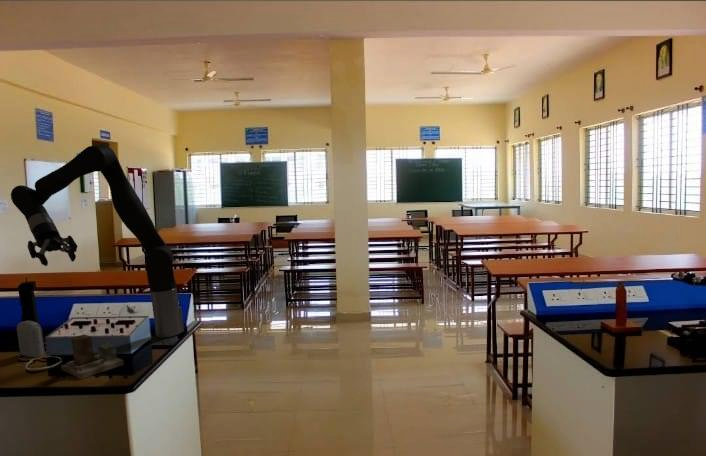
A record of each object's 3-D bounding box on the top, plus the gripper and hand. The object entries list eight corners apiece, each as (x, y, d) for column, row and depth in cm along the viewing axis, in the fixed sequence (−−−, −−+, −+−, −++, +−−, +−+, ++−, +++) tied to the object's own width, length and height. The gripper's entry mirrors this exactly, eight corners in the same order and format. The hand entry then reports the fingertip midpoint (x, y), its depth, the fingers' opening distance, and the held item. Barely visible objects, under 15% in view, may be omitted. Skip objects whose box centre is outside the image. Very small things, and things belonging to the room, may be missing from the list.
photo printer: (47, 354, 180) (42, 320, 179) (34, 358, 176) (29, 323, 175) (31, 351, 185) (26, 318, 184) (18, 355, 181) (13, 321, 180)
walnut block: (88, 361, 163) (84, 334, 162) (95, 364, 160) (91, 336, 159) (75, 365, 160) (71, 338, 159) (81, 368, 157) (77, 340, 156)
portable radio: (26, 337, 205) (17, 276, 203) (43, 334, 208) (34, 274, 205) (23, 342, 198) (13, 279, 196) (41, 339, 201) (31, 277, 198)
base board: (103, 356, 171) (101, 341, 171) (123, 364, 161) (121, 347, 161) (61, 369, 161) (59, 353, 161) (80, 379, 152) (78, 361, 151)
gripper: (21, 223, 172) (38, 258, 166) (66, 218, 183) (84, 251, 177) (19, 239, 176) (35, 273, 170) (63, 233, 187) (80, 265, 181)
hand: (60, 262), depth 173 cm, fingers open, 8 cm apart
